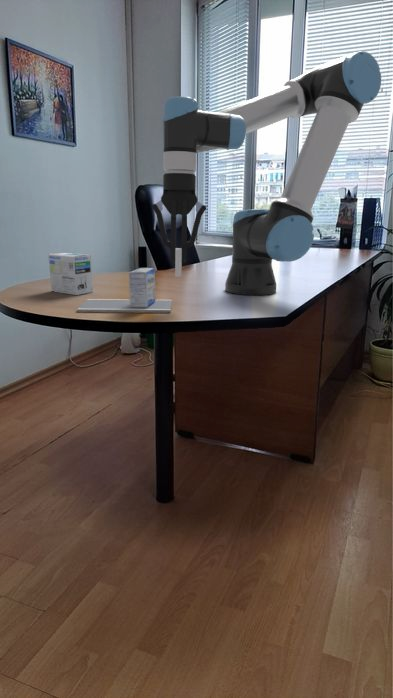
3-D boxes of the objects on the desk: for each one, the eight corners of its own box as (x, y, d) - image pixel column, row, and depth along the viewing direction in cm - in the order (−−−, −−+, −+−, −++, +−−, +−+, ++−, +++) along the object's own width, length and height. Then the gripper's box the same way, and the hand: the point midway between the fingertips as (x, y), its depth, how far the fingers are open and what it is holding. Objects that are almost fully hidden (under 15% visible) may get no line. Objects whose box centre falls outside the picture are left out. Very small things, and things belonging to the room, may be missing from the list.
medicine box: (147, 308, 114) (146, 272, 112) (129, 307, 115) (128, 271, 112) (155, 302, 122) (155, 267, 119) (138, 301, 122) (138, 267, 120)
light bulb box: (94, 292, 137) (92, 254, 134) (76, 295, 132) (74, 256, 128) (67, 288, 142) (65, 251, 139) (50, 291, 137) (47, 253, 134)
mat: (171, 302, 124) (171, 299, 124) (170, 312, 113) (170, 309, 113) (87, 301, 124) (87, 299, 124) (77, 312, 112) (77, 309, 112)
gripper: (207, 174, 113) (204, 274, 120) (152, 173, 113) (152, 273, 120) (208, 172, 106) (205, 278, 113) (150, 171, 106) (150, 277, 112)
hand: (178, 275), depth 116 cm, fingers closed
